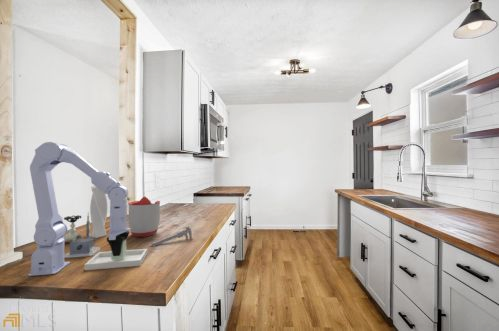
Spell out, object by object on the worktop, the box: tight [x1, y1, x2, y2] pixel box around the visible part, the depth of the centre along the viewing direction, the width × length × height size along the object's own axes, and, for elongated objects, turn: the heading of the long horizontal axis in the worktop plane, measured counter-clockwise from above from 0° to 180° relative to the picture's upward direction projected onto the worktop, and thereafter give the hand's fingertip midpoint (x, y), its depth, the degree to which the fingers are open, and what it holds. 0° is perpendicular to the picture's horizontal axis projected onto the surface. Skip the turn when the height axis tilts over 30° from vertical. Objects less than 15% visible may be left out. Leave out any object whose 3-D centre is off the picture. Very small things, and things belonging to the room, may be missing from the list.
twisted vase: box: [85, 185, 108, 239], centre depth 123 cm, size 8×8×28 cm
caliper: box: [148, 225, 193, 248], centre depth 113 cm, size 20×1×6 cm, turn 130°
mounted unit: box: [64, 238, 102, 259], centre depth 98 cm, size 8×10×6 cm
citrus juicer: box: [127, 196, 161, 238], centre depth 127 cm, size 16×17×20 cm
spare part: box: [110, 240, 127, 260], centre depth 90 cm, size 4×4×6 cm
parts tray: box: [84, 248, 148, 271], centre depth 90 cm, size 12×18×2 cm, turn 102°
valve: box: [63, 215, 83, 243], centre depth 113 cm, size 7×7×12 cm
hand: (118, 253), depth 90 cm, fingers closed on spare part, 4 cm apart
